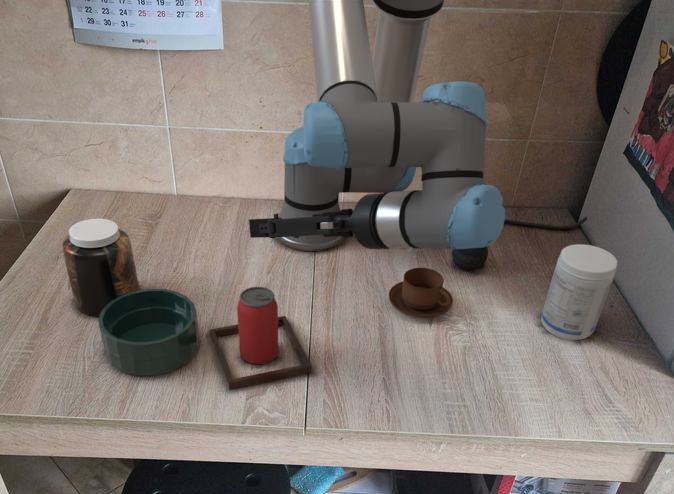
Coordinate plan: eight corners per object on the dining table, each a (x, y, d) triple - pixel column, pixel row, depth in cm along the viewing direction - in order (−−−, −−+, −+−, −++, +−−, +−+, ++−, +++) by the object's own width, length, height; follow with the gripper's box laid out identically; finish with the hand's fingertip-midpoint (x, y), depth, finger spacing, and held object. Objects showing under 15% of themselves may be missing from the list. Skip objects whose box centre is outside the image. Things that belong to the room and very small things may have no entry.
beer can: (273, 368, 108) (272, 310, 100) (235, 363, 109) (231, 304, 101) (282, 344, 113) (281, 287, 106) (245, 339, 114) (242, 282, 106)
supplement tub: (567, 306, 124) (590, 238, 115) (605, 334, 117) (632, 264, 108) (528, 318, 121) (548, 249, 111) (564, 347, 114) (589, 277, 105)
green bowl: (190, 314, 120) (186, 282, 115) (207, 367, 108) (204, 334, 104) (102, 329, 115) (94, 297, 111) (110, 386, 104) (103, 352, 99)
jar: (83, 324, 116) (65, 252, 107) (70, 292, 124) (52, 221, 115) (147, 308, 121) (136, 236, 111) (130, 277, 129) (118, 208, 119)
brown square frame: (285, 322, 118) (285, 315, 117) (311, 372, 107) (311, 366, 106) (209, 336, 115) (209, 329, 114) (229, 389, 104) (228, 383, 103)
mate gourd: (446, 271, 133) (454, 227, 127) (453, 254, 138) (461, 211, 132) (481, 279, 131) (491, 235, 125) (487, 261, 136) (497, 218, 130)
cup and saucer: (458, 297, 126) (463, 270, 122) (441, 331, 117) (446, 303, 113) (399, 282, 129) (402, 255, 125) (379, 313, 121) (382, 286, 117)
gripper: (328, 258, 80) (224, 257, 95) (443, 241, 97) (339, 242, 112) (325, 195, 78) (219, 204, 93) (442, 189, 95) (336, 198, 110)
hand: (284, 225), depth 103 cm, fingers open, 13 cm apart
